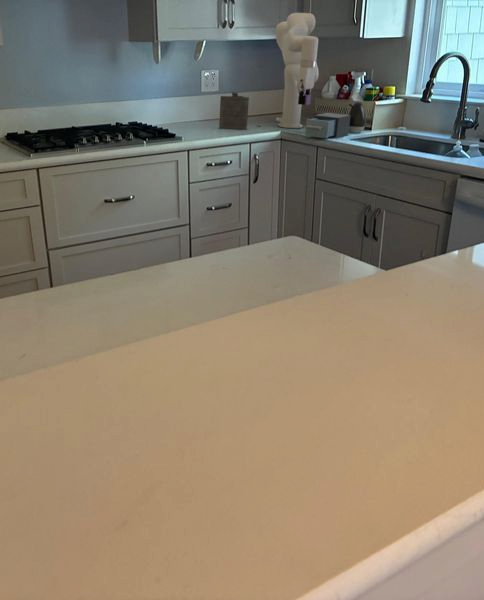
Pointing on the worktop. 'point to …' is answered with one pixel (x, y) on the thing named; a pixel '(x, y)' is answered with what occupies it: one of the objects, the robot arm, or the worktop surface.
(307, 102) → the purple cube
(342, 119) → the grey drawer box
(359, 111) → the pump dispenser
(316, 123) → the sliding drawer
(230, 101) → the flask
